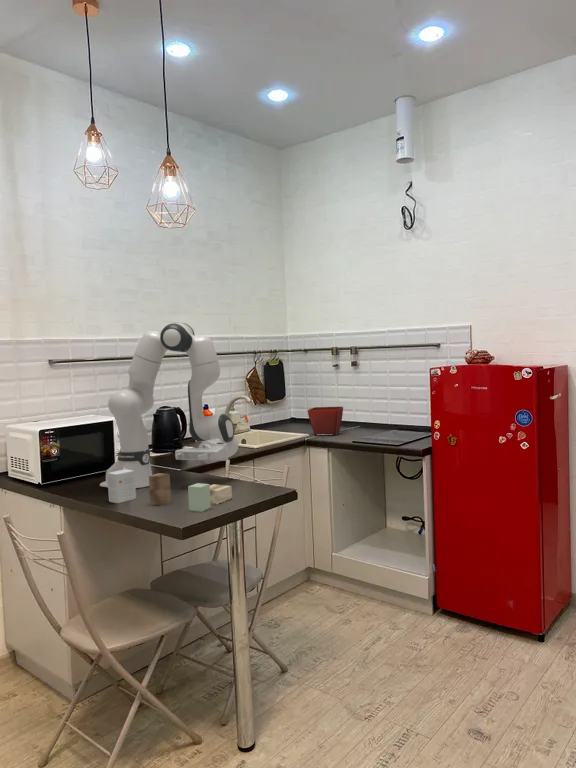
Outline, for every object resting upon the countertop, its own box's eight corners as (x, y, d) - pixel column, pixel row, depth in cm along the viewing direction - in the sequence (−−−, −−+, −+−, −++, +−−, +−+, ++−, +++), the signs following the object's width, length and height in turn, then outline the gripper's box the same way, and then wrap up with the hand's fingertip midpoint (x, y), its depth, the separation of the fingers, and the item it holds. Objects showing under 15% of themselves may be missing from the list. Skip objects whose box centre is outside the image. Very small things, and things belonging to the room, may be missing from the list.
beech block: (199, 503, 201) (198, 488, 201) (214, 498, 208) (213, 484, 208) (217, 505, 197) (217, 490, 197) (232, 500, 204) (231, 486, 204)
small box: (127, 497, 215) (125, 468, 215) (136, 498, 212) (135, 470, 211) (108, 501, 209) (106, 472, 209) (117, 503, 205) (115, 474, 205)
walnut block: (150, 504, 202) (148, 475, 202) (160, 501, 206) (158, 473, 206) (161, 505, 200) (160, 476, 199) (171, 502, 204) (169, 473, 204)
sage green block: (189, 510, 191) (188, 486, 191) (198, 506, 196) (197, 483, 195) (201, 511, 189) (200, 487, 189) (210, 508, 193) (209, 484, 193)
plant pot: (308, 436, 362) (307, 409, 361) (315, 432, 380) (314, 407, 379) (338, 436, 356) (337, 409, 355) (344, 432, 374) (343, 406, 374)
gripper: (187, 443, 232) (164, 449, 220) (230, 443, 223) (208, 449, 210) (188, 459, 233) (165, 465, 220) (231, 460, 223) (209, 466, 211)
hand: (187, 457), depth 215 cm, fingers open, 8 cm apart
